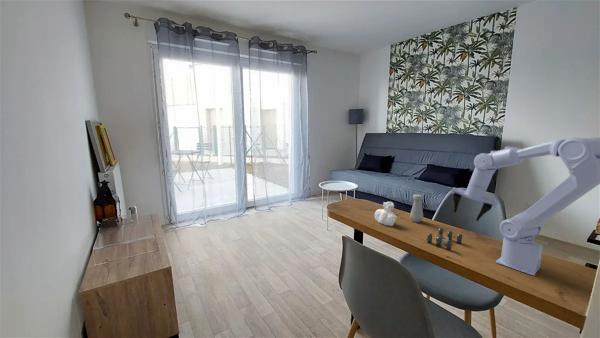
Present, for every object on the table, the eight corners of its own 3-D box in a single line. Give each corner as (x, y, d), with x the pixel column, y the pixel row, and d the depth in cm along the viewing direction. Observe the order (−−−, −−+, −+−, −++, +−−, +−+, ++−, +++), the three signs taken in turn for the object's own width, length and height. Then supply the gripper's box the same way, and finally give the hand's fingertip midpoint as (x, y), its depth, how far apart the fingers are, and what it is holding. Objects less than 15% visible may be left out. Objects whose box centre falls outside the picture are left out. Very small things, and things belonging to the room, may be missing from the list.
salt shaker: (424, 223, 117) (426, 196, 115) (411, 222, 118) (413, 196, 116) (420, 219, 123) (422, 193, 121) (408, 218, 124) (410, 193, 122)
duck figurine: (396, 231, 113) (407, 210, 115) (388, 224, 109) (399, 202, 112) (376, 223, 123) (386, 203, 126) (367, 216, 120) (378, 196, 122)
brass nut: (450, 243, 97) (451, 238, 97) (445, 246, 95) (446, 241, 94) (437, 238, 101) (437, 233, 101) (432, 241, 99) (432, 236, 99)
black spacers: (462, 243, 97) (463, 234, 96) (449, 251, 91) (450, 241, 90) (439, 235, 104) (439, 227, 103) (426, 242, 98) (427, 233, 97)
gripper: (503, 187, 91) (489, 219, 96) (458, 175, 99) (447, 204, 105) (502, 194, 86) (487, 226, 91) (455, 180, 94) (444, 210, 100)
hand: (466, 215), depth 98 cm, fingers open, 7 cm apart
